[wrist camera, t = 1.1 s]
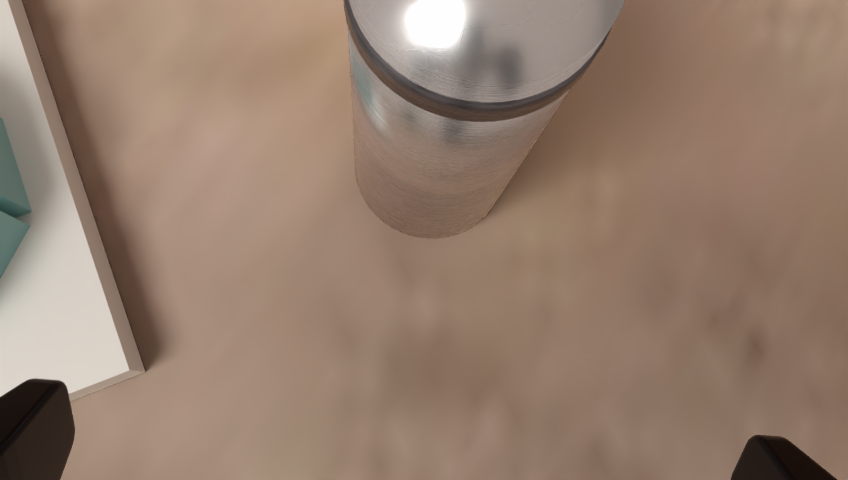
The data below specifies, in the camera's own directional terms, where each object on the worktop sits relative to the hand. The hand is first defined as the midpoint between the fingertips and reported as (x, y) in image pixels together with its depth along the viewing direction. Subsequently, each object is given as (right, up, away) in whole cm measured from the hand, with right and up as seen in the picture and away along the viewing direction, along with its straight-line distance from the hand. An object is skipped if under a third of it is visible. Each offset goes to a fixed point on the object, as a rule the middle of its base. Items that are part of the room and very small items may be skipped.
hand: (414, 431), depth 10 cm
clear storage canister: (0, +5, +15) cm, 15 cm away
